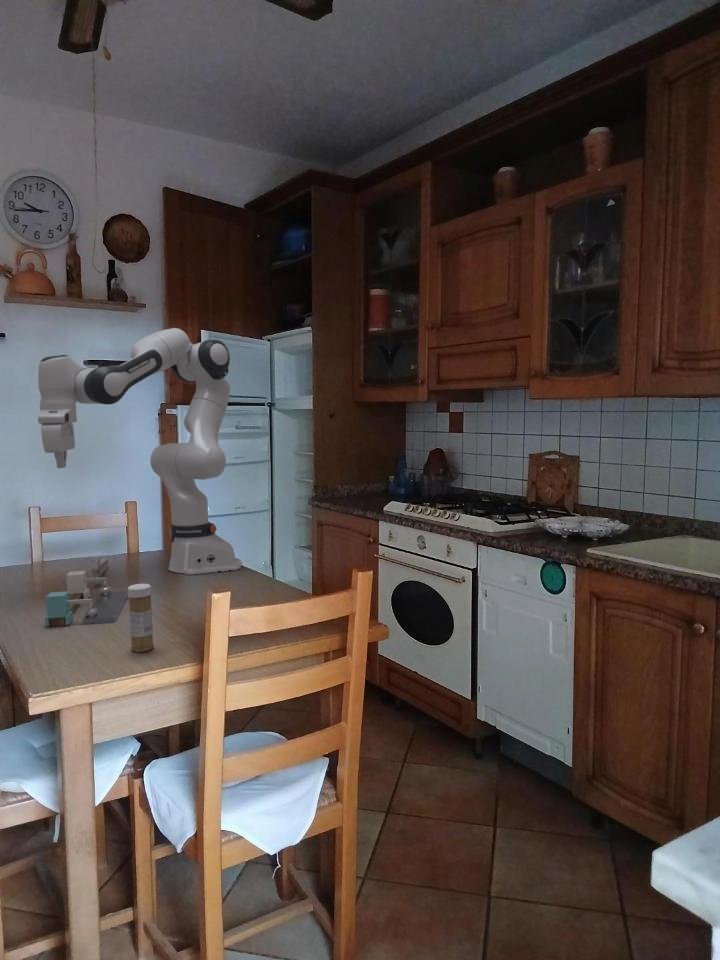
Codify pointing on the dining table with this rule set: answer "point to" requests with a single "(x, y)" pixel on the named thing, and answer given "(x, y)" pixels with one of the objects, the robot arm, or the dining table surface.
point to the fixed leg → (81, 583)
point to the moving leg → (62, 606)
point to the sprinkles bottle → (140, 617)
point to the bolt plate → (105, 606)
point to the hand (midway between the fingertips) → (61, 467)
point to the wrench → (98, 568)
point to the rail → (72, 608)
